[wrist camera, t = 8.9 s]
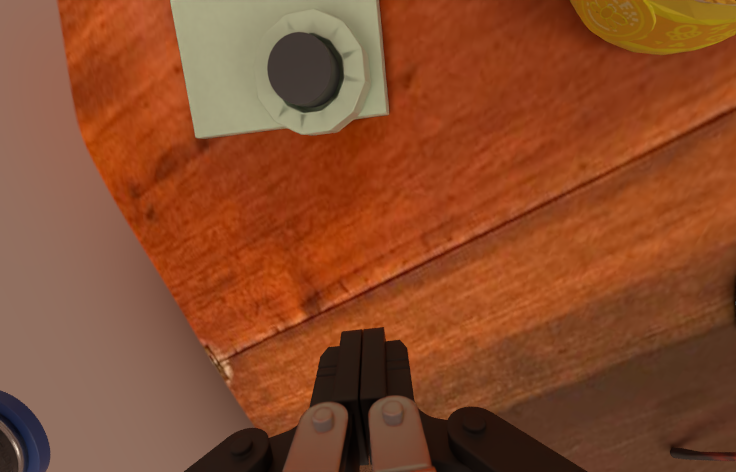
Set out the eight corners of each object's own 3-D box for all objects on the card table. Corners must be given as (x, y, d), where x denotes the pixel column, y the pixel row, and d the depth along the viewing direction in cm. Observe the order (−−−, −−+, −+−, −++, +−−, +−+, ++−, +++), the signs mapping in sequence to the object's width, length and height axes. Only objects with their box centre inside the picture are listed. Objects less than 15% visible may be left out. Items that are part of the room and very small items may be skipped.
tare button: (285, 111, 23) (272, 108, 21) (275, 46, 22) (261, 38, 21) (343, 103, 22) (335, 99, 21) (336, 35, 22) (326, 26, 20)
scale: (208, 149, 27) (179, 149, 25) (174, -37, 25) (138, -61, 22) (390, 127, 25) (382, 124, 22) (371, -85, 22) (360, -119, 19)
